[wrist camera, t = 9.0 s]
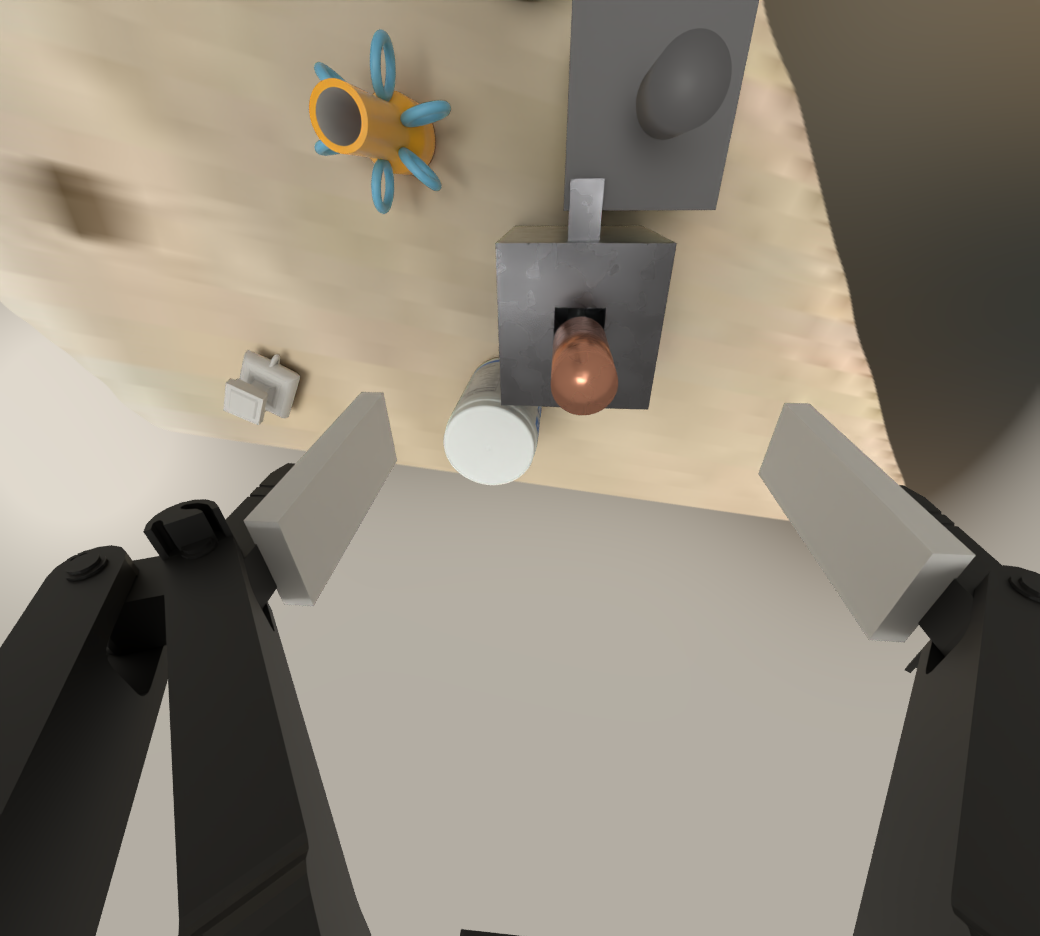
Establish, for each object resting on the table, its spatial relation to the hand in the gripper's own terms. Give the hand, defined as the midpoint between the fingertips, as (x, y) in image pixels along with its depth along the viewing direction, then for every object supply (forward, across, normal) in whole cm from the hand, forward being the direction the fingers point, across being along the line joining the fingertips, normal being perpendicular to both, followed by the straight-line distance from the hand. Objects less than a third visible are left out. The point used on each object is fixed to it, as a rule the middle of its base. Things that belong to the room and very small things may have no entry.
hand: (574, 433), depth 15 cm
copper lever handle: (+30, +1, -3) cm, 31 cm away
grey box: (+38, +1, -2) cm, 38 cm away
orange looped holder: (+39, -16, +10) cm, 43 cm away
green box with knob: (+38, +5, +10) cm, 40 cm away
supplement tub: (+38, -7, -16) cm, 42 cm away
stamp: (+38, -37, -14) cm, 55 cm away
